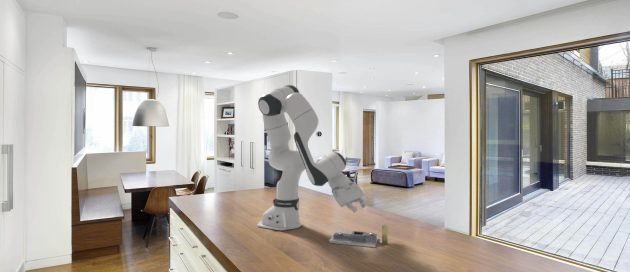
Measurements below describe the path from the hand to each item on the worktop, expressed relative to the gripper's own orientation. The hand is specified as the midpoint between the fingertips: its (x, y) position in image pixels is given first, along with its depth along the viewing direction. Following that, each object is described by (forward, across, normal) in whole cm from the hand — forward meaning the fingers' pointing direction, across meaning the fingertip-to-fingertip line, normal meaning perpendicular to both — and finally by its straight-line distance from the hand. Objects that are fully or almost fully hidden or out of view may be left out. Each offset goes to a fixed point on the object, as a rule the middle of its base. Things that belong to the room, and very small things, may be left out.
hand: (360, 209), depth 151 cm
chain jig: (+8, -3, +11) cm, 14 cm away
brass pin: (+18, +1, +2) cm, 18 cm away
